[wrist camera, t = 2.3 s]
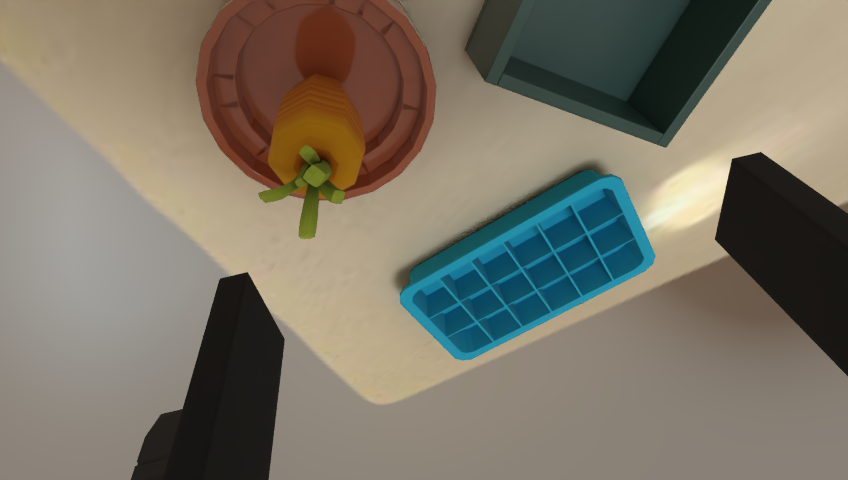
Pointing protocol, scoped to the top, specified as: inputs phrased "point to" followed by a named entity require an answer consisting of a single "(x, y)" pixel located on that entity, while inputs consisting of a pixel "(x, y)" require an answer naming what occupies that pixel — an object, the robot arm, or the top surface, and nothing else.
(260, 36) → the bowl
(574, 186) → the ice cube tray
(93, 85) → the top surface
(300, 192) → the carrot
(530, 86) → the bin
